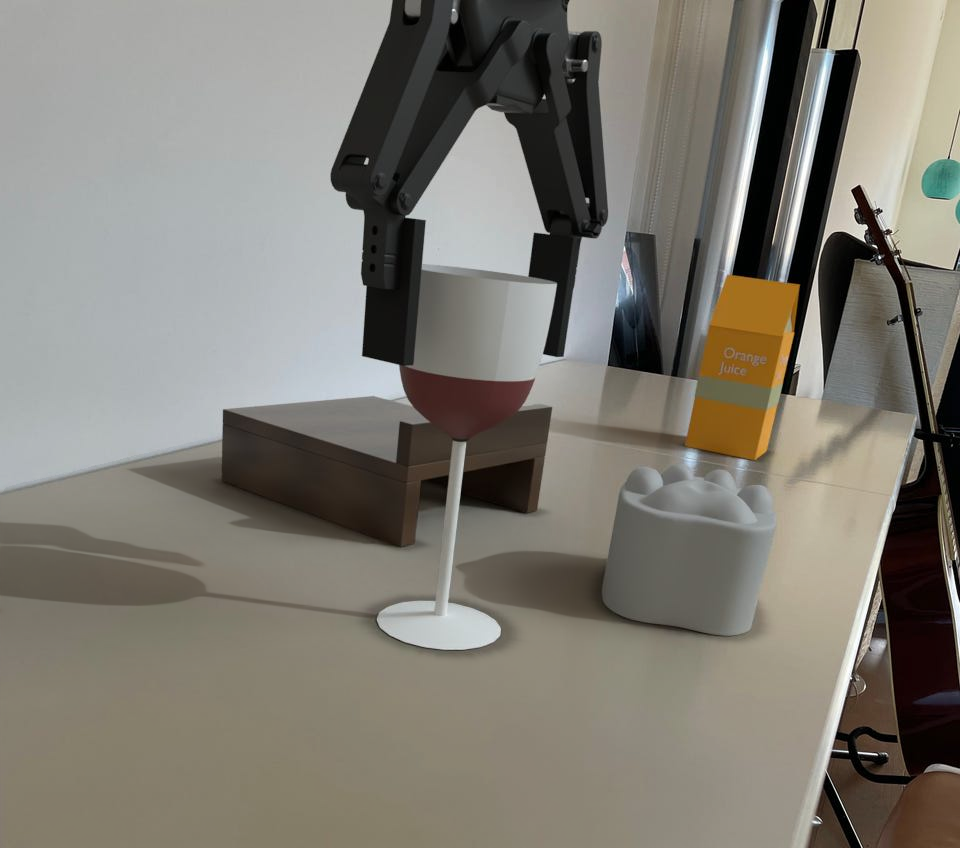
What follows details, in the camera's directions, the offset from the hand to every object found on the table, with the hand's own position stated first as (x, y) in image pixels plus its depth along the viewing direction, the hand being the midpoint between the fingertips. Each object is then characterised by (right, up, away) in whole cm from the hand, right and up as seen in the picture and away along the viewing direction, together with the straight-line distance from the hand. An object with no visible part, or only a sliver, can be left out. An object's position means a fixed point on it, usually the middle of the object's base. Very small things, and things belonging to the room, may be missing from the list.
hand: (471, 357), depth 53 cm
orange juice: (+31, +8, +70) cm, 77 cm away
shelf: (-8, -3, +31) cm, 32 cm away
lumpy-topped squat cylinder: (+14, -12, +16) cm, 25 cm away
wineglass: (-2, -14, +6) cm, 16 cm away
